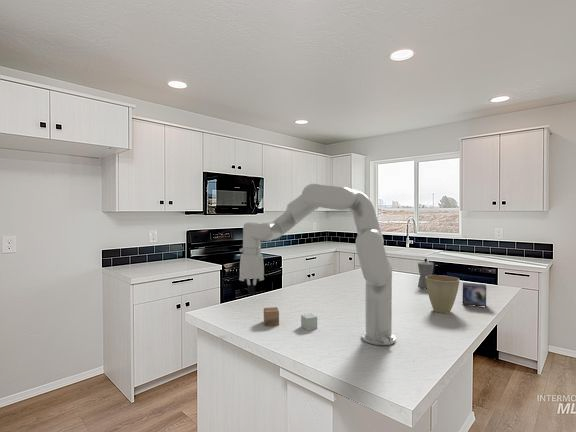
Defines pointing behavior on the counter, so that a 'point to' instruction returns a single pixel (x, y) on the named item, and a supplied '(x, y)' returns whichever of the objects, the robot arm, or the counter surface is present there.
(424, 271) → the coffeepot
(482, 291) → the picture frame
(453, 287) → the plant pot
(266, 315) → the walnut block
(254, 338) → the counter surface
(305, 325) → the sage block
